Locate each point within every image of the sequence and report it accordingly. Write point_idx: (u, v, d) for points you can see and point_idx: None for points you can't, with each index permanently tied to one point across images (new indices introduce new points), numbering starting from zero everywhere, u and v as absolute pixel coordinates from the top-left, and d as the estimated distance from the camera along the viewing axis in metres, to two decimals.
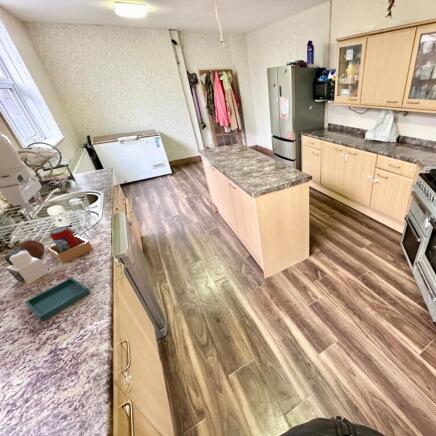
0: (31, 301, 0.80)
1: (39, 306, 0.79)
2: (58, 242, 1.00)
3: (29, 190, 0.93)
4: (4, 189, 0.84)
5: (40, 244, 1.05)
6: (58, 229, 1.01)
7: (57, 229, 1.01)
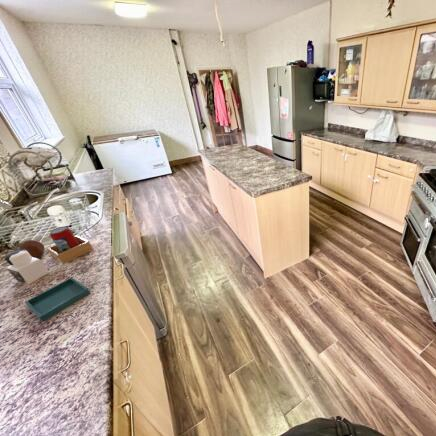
0: (31, 301, 0.80)
1: (39, 306, 0.79)
2: (58, 242, 1.00)
3: None
4: None
5: (40, 244, 1.05)
6: (58, 229, 1.01)
7: (57, 229, 1.01)
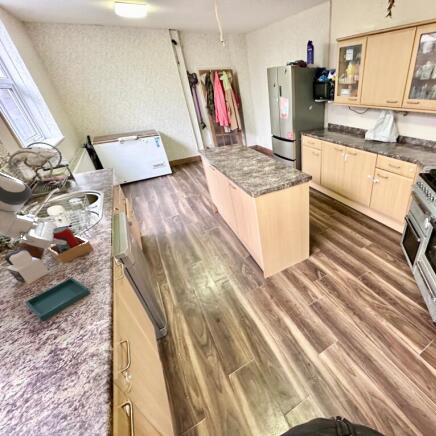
0: (31, 301, 0.80)
1: (39, 306, 0.79)
2: None
3: None
4: None
5: None
6: (58, 229, 1.01)
7: (57, 229, 1.01)
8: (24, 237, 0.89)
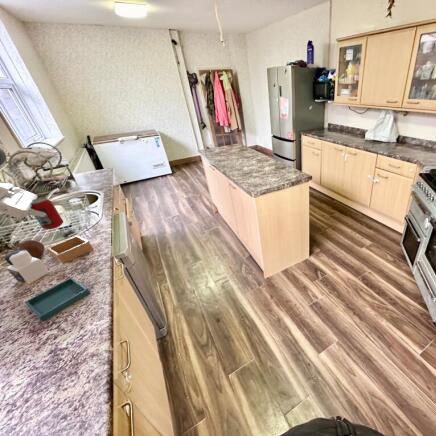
0: (31, 301, 0.80)
1: (39, 306, 0.79)
2: None
3: None
4: None
5: (40, 244, 1.05)
6: (38, 200, 0.93)
7: (36, 200, 0.92)
8: None
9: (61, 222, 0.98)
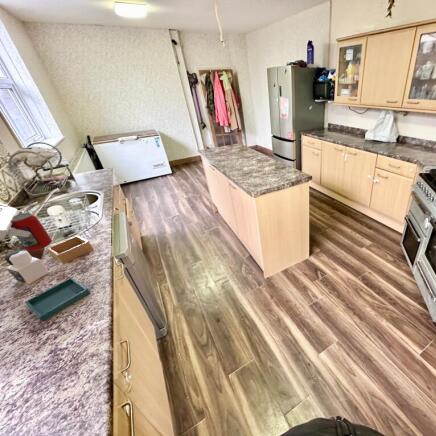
0: (31, 301, 0.80)
1: (39, 306, 0.79)
2: None
3: None
4: None
5: None
6: (20, 216, 0.77)
7: (18, 217, 0.77)
8: None
9: (49, 241, 0.82)
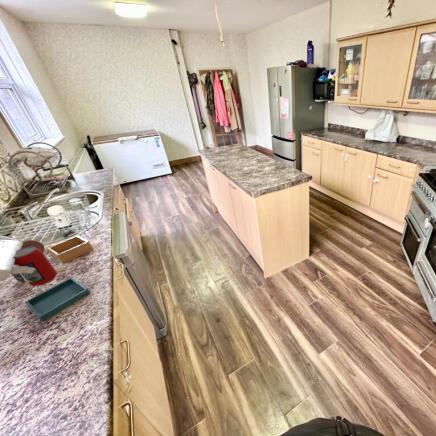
0: (31, 301, 0.80)
1: (39, 306, 0.79)
2: None
3: None
4: None
5: (40, 244, 1.05)
6: (23, 251, 0.72)
7: (22, 251, 0.72)
8: None
9: (54, 275, 0.77)
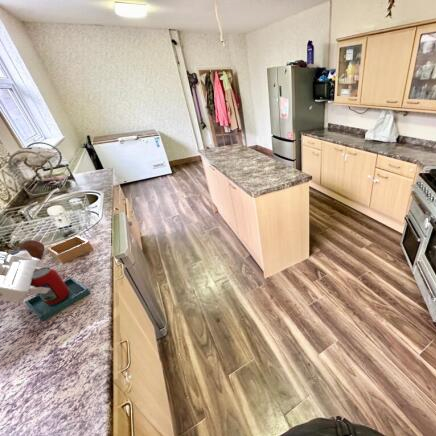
0: (31, 301, 0.80)
1: (39, 306, 0.79)
2: None
3: None
4: None
5: (40, 244, 1.05)
6: (39, 272, 0.76)
7: (38, 272, 0.76)
8: None
9: (68, 293, 0.82)
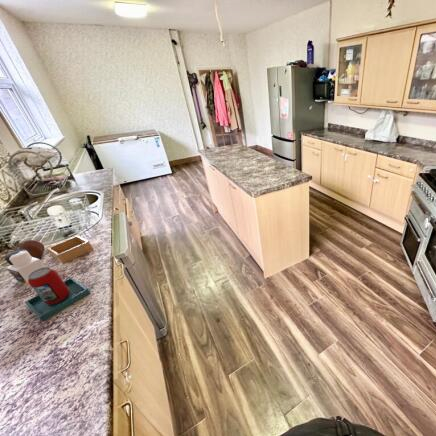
0: (31, 301, 0.80)
1: (39, 306, 0.79)
2: (39, 290, 0.75)
3: None
4: None
5: (40, 244, 1.05)
6: (39, 272, 0.76)
7: (38, 272, 0.76)
8: None
9: (67, 293, 0.82)
